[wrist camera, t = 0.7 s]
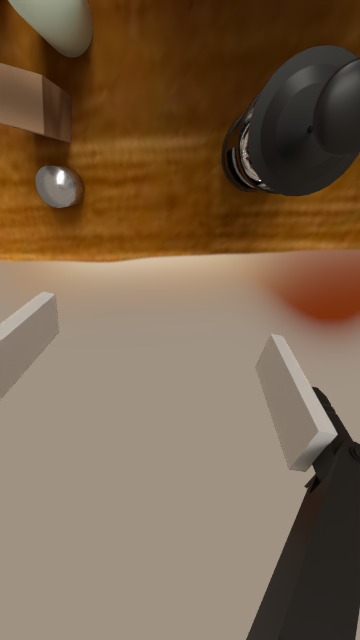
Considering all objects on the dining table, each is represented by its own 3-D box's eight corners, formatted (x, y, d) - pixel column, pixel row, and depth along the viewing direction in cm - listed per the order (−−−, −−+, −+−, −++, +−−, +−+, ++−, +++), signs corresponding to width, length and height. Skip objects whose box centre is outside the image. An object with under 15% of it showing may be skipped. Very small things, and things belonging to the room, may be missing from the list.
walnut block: (30, 84, 30) (-10, 60, 24) (71, 95, 31) (41, 74, 25) (33, 133, 33) (-2, 122, 27) (71, 143, 33) (44, 134, 27)
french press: (210, 185, 35) (235, 189, 15) (226, 100, 30) (294, -57, 10) (289, 199, 35) (415, 221, 16) (316, 117, 31) (547, 0, 11)
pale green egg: (38, -30, 26) (-9, -94, 20) (94, -12, 26) (65, -70, 20) (41, 49, 29) (1, 13, 23) (92, 64, 29) (65, 32, 23)
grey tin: (49, 162, 34) (34, 160, 31) (85, 171, 35) (73, 170, 31) (51, 200, 37) (36, 202, 33) (84, 209, 37) (73, 211, 34)
